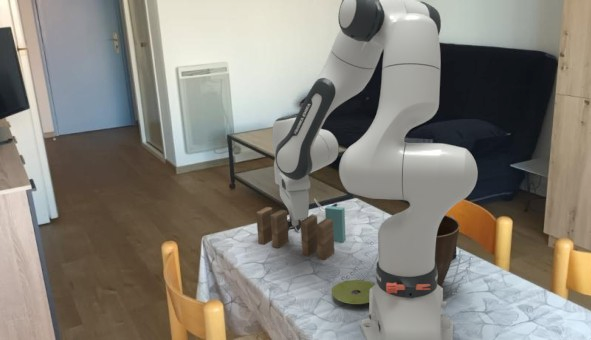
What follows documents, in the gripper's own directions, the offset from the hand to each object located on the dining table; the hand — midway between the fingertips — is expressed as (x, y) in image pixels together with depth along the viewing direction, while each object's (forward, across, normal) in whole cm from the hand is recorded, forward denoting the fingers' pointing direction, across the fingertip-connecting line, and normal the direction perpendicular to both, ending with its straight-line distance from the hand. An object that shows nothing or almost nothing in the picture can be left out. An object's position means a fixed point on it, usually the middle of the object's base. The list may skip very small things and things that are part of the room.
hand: (294, 223), depth 156 cm
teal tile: (+8, -2, +12) cm, 15 cm away
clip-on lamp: (+4, -22, +16) cm, 28 cm away
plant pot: (+8, +31, +24) cm, 40 cm away
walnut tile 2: (+8, -4, -4) cm, 9 cm away
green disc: (+8, +31, +7) cm, 33 cm away
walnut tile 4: (+8, +4, +3) cm, 9 cm away
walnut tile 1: (+8, -7, -7) cm, 13 cm away
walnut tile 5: (+8, +7, +7) cm, 13 cm away
